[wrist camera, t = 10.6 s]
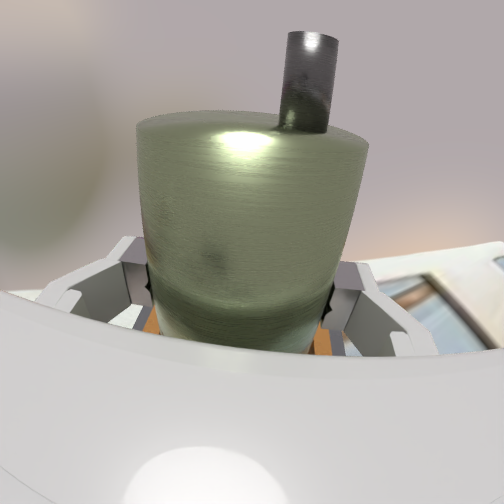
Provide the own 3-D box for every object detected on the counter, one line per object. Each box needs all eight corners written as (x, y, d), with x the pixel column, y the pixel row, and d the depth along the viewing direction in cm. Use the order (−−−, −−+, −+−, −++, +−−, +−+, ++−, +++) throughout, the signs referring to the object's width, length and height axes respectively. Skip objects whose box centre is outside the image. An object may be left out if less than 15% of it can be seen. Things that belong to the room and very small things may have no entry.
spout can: (160, 419, 10) (88, 17, 3) (188, 328, 15) (184, 45, 8) (291, 437, 10) (431, 39, 3) (291, 341, 15) (350, 60, 7)
